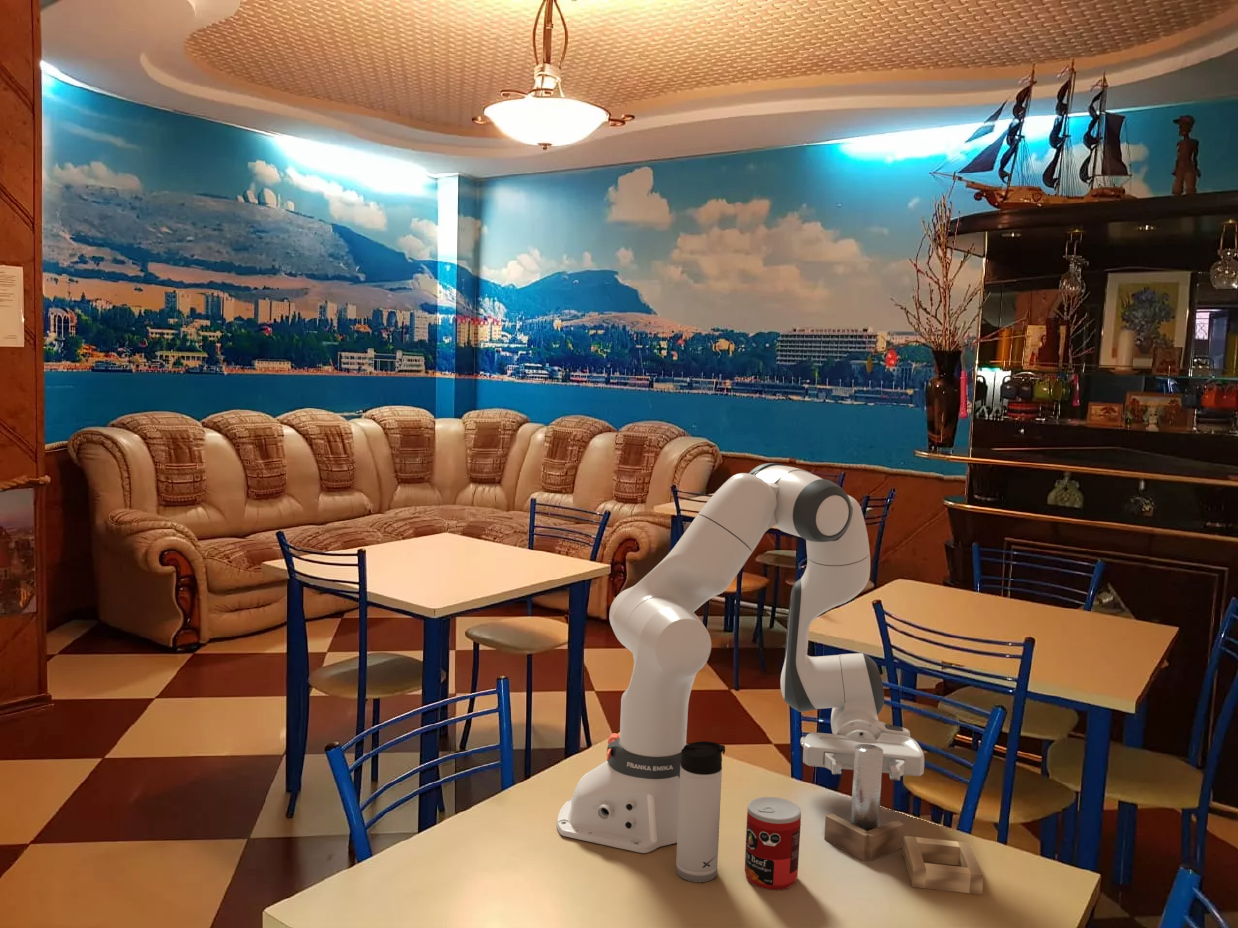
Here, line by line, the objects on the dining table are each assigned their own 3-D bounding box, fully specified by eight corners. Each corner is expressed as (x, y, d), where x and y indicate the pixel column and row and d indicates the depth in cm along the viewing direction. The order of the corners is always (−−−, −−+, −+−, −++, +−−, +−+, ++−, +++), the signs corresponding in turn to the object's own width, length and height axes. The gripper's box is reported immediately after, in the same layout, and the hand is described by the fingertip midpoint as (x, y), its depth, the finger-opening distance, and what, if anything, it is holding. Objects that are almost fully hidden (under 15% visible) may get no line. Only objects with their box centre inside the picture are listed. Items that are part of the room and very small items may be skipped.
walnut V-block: (826, 855, 149) (827, 831, 149) (823, 835, 156) (825, 812, 155) (907, 864, 147) (909, 840, 147) (901, 844, 154) (903, 820, 153)
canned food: (734, 869, 144) (738, 800, 143) (779, 860, 147) (782, 792, 146) (761, 895, 137) (765, 822, 136) (807, 885, 140) (811, 814, 139)
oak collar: (912, 886, 141) (913, 867, 140) (902, 853, 151) (904, 835, 150) (982, 894, 139) (983, 875, 139) (967, 860, 149) (969, 842, 149)
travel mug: (717, 885, 139) (723, 755, 137) (673, 879, 140) (678, 750, 138) (721, 864, 145) (727, 739, 143) (678, 859, 146) (684, 734, 145)
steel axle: (850, 848, 151) (856, 753, 150) (848, 836, 156) (853, 742, 154) (878, 851, 151) (884, 755, 149) (875, 838, 155) (881, 745, 154)
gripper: (800, 719, 170) (803, 748, 157) (917, 729, 167) (930, 760, 153) (799, 752, 171) (801, 784, 157) (915, 763, 168) (928, 797, 154)
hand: (866, 772), depth 155 cm, fingers open, 8 cm apart
